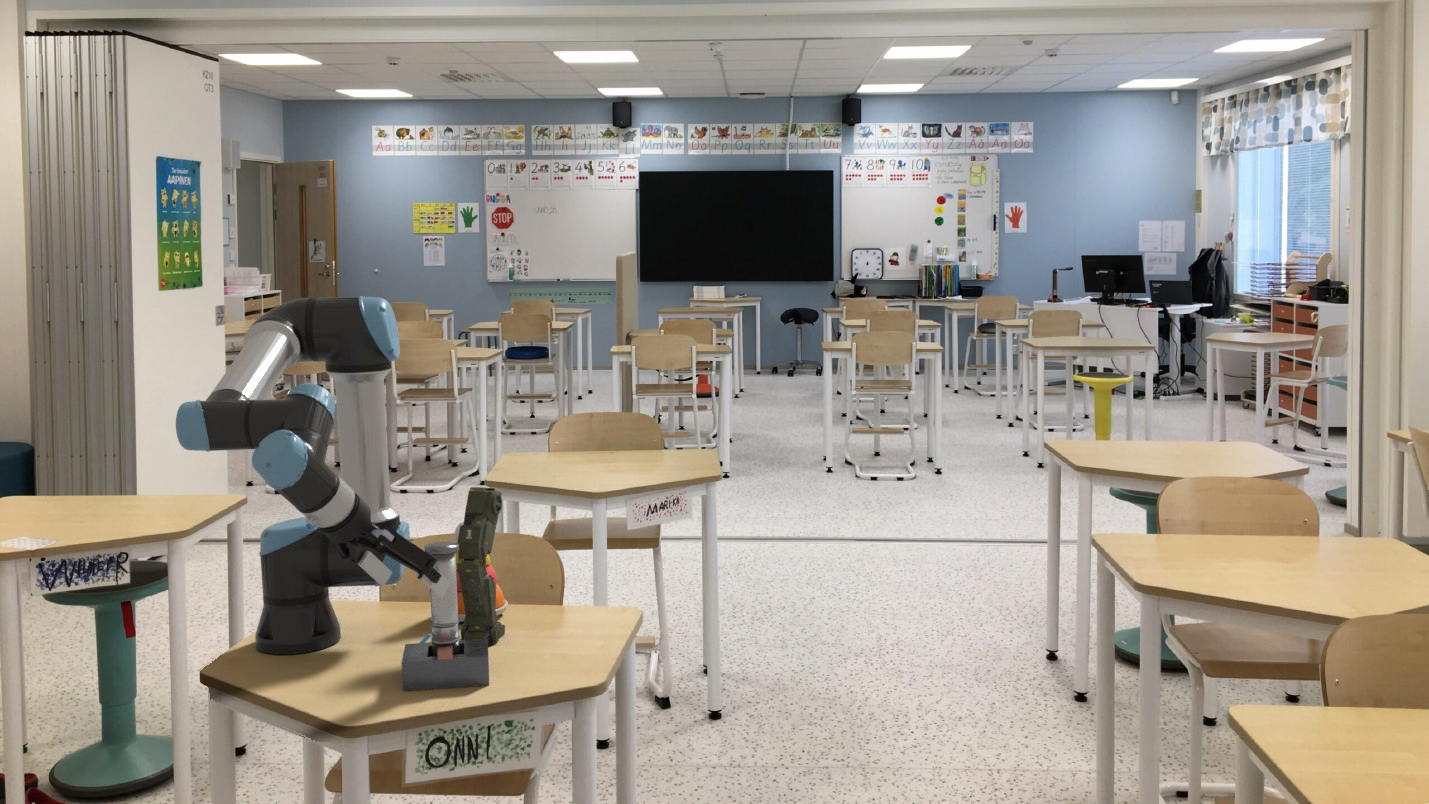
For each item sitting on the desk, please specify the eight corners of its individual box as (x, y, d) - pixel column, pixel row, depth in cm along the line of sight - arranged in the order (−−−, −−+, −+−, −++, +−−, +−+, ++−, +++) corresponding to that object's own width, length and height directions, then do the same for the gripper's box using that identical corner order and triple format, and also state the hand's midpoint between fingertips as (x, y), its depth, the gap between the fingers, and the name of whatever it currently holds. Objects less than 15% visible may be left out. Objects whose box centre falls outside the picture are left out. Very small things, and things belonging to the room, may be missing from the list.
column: (430, 673, 199) (425, 542, 197) (464, 670, 200) (459, 540, 198) (429, 684, 194) (423, 550, 191) (463, 681, 195) (458, 548, 192)
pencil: (433, 635, 222) (433, 632, 222) (403, 665, 205) (403, 661, 205) (429, 635, 222) (428, 632, 222) (399, 665, 205) (399, 661, 205)
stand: (406, 672, 200) (405, 635, 200) (488, 665, 203) (487, 629, 202) (402, 692, 191) (401, 653, 190) (489, 685, 193) (487, 647, 193)
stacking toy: (522, 611, 236) (519, 517, 234) (473, 630, 224) (469, 531, 222) (471, 602, 244) (467, 511, 241) (421, 619, 232) (417, 523, 229)
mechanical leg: (479, 653, 207) (489, 485, 211) (442, 651, 209) (452, 484, 212) (508, 647, 221) (517, 490, 224) (472, 645, 222) (482, 489, 226)
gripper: (269, 521, 179) (351, 593, 194) (379, 539, 166) (458, 615, 180) (296, 482, 183) (375, 556, 197) (405, 497, 170) (482, 574, 184)
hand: (415, 584), depth 189 cm, fingers open, 13 cm apart
